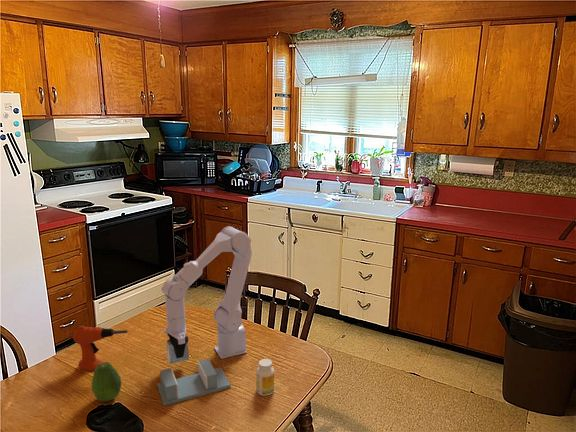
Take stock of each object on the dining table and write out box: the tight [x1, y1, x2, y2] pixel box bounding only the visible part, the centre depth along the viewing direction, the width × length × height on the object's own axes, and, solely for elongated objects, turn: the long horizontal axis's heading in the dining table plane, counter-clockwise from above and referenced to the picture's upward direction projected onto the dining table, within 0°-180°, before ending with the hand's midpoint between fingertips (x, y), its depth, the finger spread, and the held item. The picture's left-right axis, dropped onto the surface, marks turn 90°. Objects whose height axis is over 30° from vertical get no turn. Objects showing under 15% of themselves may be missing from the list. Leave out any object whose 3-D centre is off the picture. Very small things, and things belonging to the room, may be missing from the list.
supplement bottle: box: [255, 358, 275, 396], centre depth 131 cm, size 5×5×10 cm
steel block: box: [166, 338, 190, 365], centre depth 141 cm, size 6×4×6 cm, turn 116°
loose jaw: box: [197, 358, 217, 389], centre depth 134 cm, size 3×9×4 cm, turn 26°
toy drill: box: [72, 325, 128, 372], centre depth 141 cm, size 5×19×15 cm, turn 86°
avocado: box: [91, 361, 122, 402], centre depth 126 cm, size 8×8×12 cm
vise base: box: [157, 367, 232, 407], centre depth 132 cm, size 20×10×6 cm, turn 116°
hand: (178, 353), depth 142 cm, fingers closed on steel block, 4 cm apart
